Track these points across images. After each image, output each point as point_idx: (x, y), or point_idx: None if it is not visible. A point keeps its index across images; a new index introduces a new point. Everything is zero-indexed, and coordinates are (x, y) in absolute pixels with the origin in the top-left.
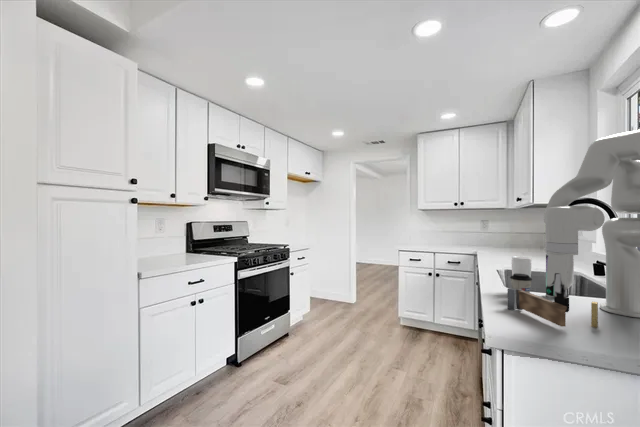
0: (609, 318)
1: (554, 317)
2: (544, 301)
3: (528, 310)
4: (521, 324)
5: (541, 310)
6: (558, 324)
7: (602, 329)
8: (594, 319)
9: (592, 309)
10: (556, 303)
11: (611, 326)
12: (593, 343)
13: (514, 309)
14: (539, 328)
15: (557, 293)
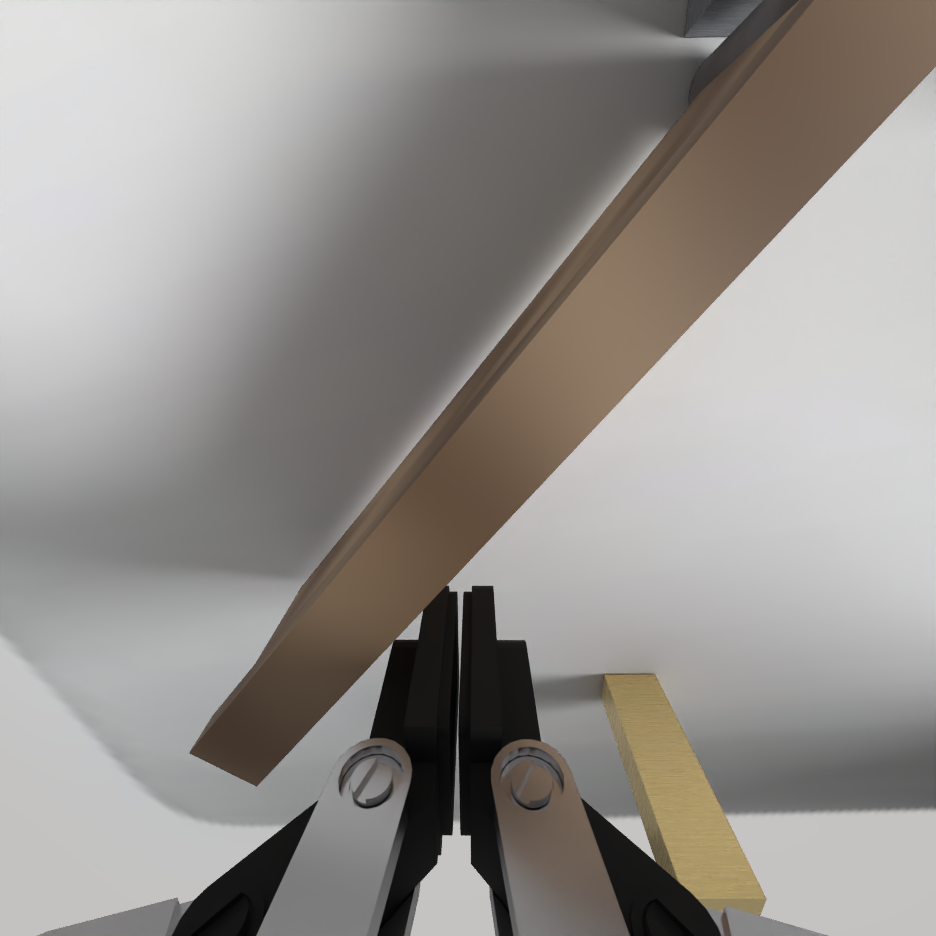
0: (926, 723)
1: (323, 569)
2: (352, 549)
3: (569, 254)
4: (193, 295)
5: (429, 443)
6: (314, 571)
7: (592, 718)
8: (619, 741)
9: (655, 819)
10: (304, 696)
11: (708, 743)
12: None
13: (704, 32)
14: (232, 441)
15: (246, 885)
